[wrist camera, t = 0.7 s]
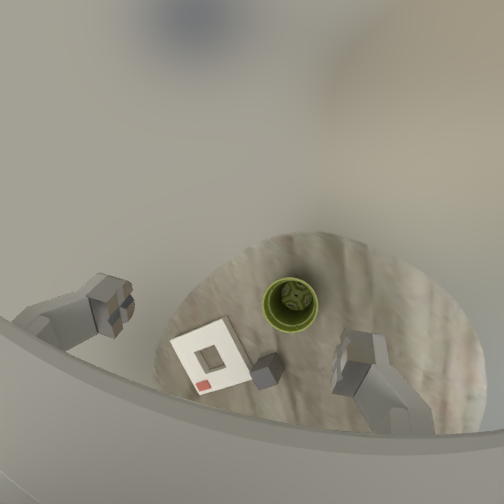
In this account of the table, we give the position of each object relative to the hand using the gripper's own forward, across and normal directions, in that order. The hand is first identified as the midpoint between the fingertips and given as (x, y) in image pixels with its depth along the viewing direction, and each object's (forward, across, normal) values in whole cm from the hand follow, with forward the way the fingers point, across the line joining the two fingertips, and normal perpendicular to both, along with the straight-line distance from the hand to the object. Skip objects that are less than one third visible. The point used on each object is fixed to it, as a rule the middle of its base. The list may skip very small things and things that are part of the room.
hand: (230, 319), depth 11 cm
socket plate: (+35, -10, -43) cm, 57 cm away
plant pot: (+40, +4, -27) cm, 48 cm away
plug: (+35, +2, -41) cm, 54 cm away
